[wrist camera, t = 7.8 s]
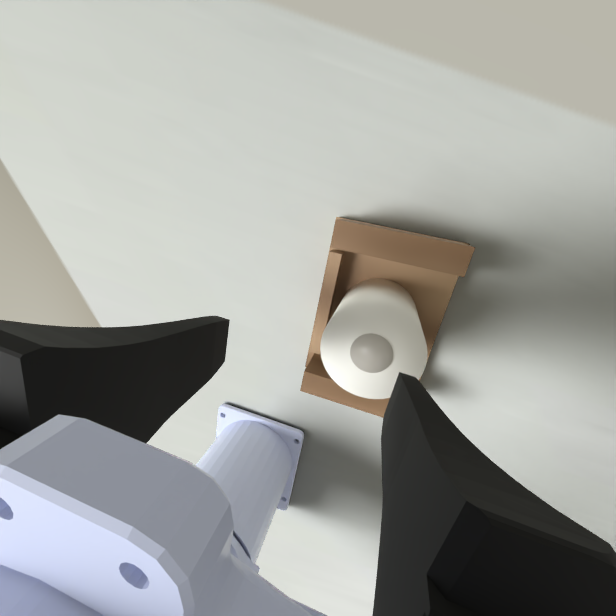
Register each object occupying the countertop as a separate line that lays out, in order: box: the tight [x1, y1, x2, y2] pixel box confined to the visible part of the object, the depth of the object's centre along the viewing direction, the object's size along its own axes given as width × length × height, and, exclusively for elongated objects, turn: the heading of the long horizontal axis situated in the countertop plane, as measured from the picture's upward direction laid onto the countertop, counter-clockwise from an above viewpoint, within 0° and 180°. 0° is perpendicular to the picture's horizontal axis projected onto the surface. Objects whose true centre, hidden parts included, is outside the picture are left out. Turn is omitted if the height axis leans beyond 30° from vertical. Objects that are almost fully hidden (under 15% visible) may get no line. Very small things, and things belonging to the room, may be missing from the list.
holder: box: [300, 217, 475, 418], centre depth 19 cm, size 11×8×4 cm
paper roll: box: [320, 278, 428, 399], centre depth 17 cm, size 5×5×6 cm
